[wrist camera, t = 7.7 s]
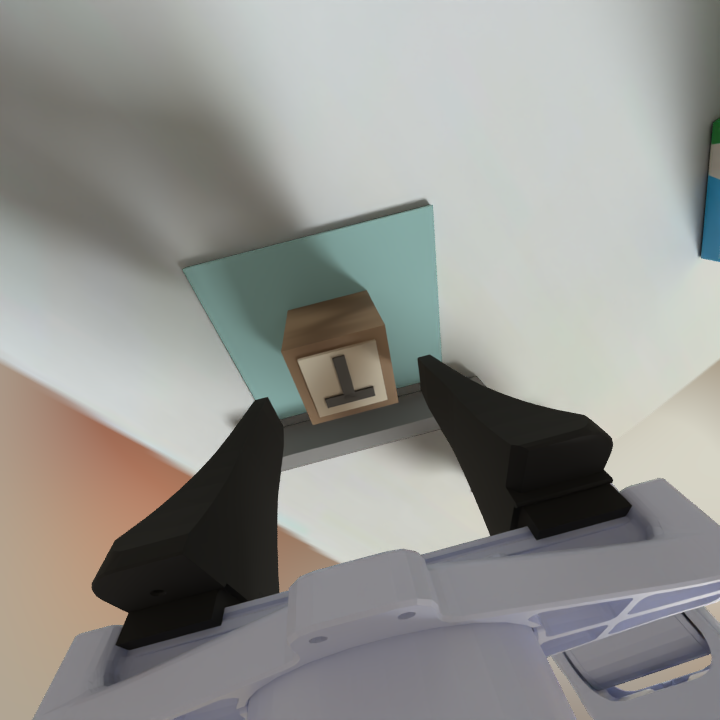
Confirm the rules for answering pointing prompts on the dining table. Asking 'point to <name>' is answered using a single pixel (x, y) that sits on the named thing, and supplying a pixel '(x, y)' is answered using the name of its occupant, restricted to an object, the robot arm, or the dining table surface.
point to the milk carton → (713, 201)
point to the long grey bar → (357, 431)
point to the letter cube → (339, 357)
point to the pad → (325, 296)
